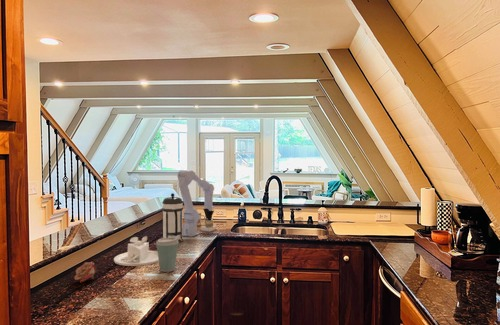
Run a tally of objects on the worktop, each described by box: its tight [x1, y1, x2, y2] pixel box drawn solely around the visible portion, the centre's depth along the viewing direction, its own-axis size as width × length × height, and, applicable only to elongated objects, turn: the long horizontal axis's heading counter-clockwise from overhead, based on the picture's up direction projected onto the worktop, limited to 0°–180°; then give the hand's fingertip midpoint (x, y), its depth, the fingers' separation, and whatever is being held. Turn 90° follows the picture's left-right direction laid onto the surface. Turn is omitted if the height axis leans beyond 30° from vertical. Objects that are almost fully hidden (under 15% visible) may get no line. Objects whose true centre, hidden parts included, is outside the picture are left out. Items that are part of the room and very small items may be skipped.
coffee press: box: [161, 193, 184, 243], centre depth 232 cm, size 17×16×30 cm
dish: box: [113, 235, 159, 267], centre depth 196 cm, size 25×25×11 cm
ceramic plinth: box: [200, 225, 217, 232], centre depth 266 cm, size 8×8×3 cm
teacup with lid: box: [197, 210, 206, 227], centre depth 285 cm, size 12×9×12 cm
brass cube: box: [204, 218, 214, 227], centre depth 266 cm, size 5×5×5 cm
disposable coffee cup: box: [155, 237, 180, 273], centre depth 177 cm, size 11×11×15 cm
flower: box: [73, 261, 97, 284], centre depth 163 cm, size 10×9×8 cm
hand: (208, 219), depth 266 cm, fingers open, 7 cm apart
